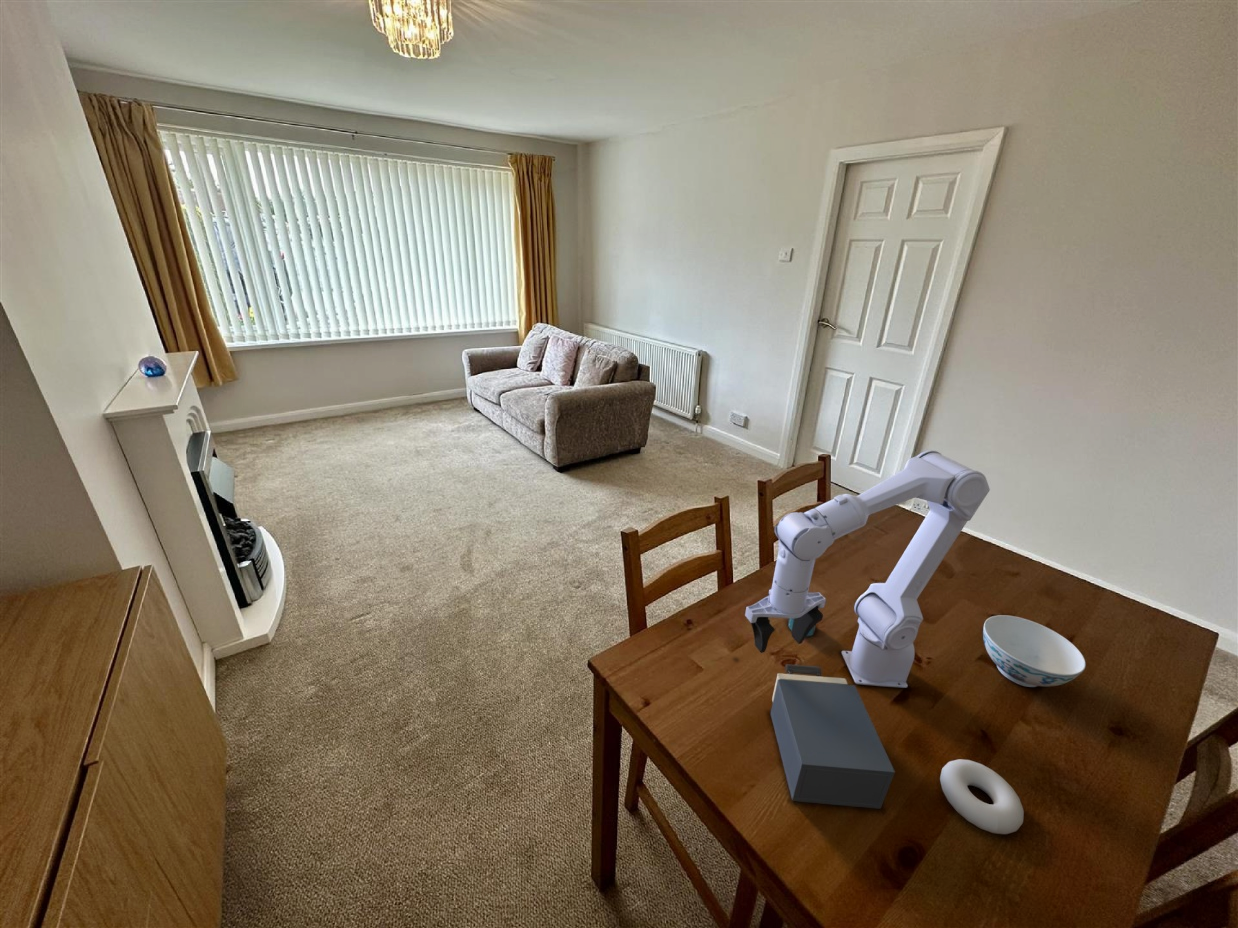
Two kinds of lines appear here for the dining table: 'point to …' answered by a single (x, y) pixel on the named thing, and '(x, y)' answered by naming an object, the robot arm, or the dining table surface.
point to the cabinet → (829, 745)
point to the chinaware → (1031, 652)
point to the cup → (792, 625)
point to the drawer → (806, 670)
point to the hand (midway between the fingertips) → (778, 643)
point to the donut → (988, 817)
